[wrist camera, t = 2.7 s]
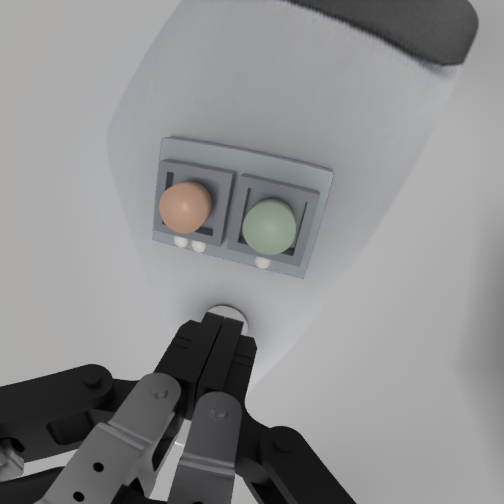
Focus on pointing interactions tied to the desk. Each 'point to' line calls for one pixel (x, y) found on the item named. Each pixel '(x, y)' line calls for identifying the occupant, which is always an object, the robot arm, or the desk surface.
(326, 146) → the desk surface
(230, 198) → the two-button control panel
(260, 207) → the button one
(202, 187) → the button two
